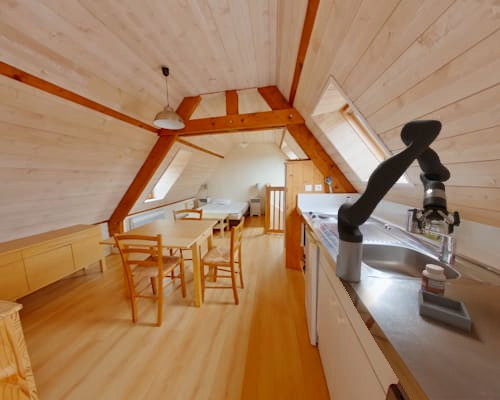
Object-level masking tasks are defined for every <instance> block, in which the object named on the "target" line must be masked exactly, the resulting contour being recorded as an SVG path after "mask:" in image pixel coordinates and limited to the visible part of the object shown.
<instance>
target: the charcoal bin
mask: <svg viewBox="0 0 500 400" xmlns="http://www.w3.org/2000/svg"><path fill="white" fill-rule="evenodd" d="M417 301H418V312H419V315H420V316H422V317H426V318H429V319H432V320H435V321H437V322H440V323H443V324H446V325H449V326H451V327H454V328H457V329H460V330H463V331H465V332H469V333H471V328H472V318H471V316H470V313H469V311H468V309H467V308H466V305H465V303H464V301H461V300H458V299H453V298H452V297H451V298H450V297H447V296H445V295H444V296H440V295H437V294H433V293H430V292H426V291H422V290H421V289H418V296H417Z"/></svg>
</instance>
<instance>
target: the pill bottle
mask: <svg viewBox="0 0 500 400" xmlns="http://www.w3.org/2000/svg"><path fill="white" fill-rule="evenodd" d="M444 270H445V269H444V267H441V266H440V265H436V264H432V263H427V264H426V265H425V269H424V270H423V271H422V274H421V275H422V276H421V284H420V285H421V286H420V290H422V291H426V292H430V293H433V294H437V295H440V296H444V297H445V292H446V282H447V276H446V275H445V274H444V272H445V271H444Z"/></svg>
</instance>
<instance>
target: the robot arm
mask: <svg viewBox="0 0 500 400" xmlns="http://www.w3.org/2000/svg"><path fill="white" fill-rule="evenodd" d="M442 127H443V124H442V122H441V121H440V120H439V119H438V120H437V119H412V120H408V121H407V122H405V124H404V125H403V126H402V128H400V129H401V130H400V132H399V133H400V134H399V135H400V140H401V141H402V143H403V144H404V145H405V146H406V148H404V149H402V150H401V151H399V152H397V153H395V154H393V155H391V156H389V157H387V158H386V159H383V160H382V161H381V162H380V163H379V164H378V165H377V166H376V168H375V169H374V170H373V171H372V172H371V174H370V175H369V178H368V181H367V184H366V188H365V190H364V192H363V193H362V194H361V196H360V197H359V198H358V199H357V200H356V201H355V202H354V203H353V202H344V203H342V204H341V205H340V206H339V208H338V210H337V220H336V221H337V232H338V245H337V246H338V250H337V255H336V261H335V262H336V263H335V277H337V278H339V279H340V280H343V281H345V282H349V283H358V282H360V281H361V277H362V258H363V244H364V236H363V233H362V232H361V230H360V228H359V227H360V226H362V225H364V224H365V223H367V221H368V220H369V218H370V217H371V215H372V214H373V213H374V211H375V210H376V208H377V207H378V205H379V203H380V202H381V201H382V199H384V198H385V196H387V194H388V192H389V191H390V190H391V189H392V188H393V187H394V185H396V184H397V182H398V181H399V180H400V179H401V177H402V176H403V175H404V173H406V172H407V170H408V169H409V168H410V166H412V164H413V163H414V162H415V161H417V164H418V166H419V167H420V170H421V172H420V174H419V180H420V182H421V183H422V185H423V197H422V209H418V208H413V211H412V217H411V221H412V223H416V229H417V230H418V231H422V228H423V227H422V226H423V223H424V222H426V221H427V220H429V221H435V222H436V221H437V222H440V221H441V223H442V224H445V225H447V234H448V235H451V234H453V233H454V231H455V227H460V224H461V218H460V213H459V211H458V210H455V211H454V212H453V211H452V212H449V211H448V204H447V195H446V185H445V182H447V181H449V180H450V178H451V172H450V170H449V169H448V168H447V167H446V166H445V165H444V164H443V163H442V162H441V159H440V156H439V154H438V153H437V152H436V151H435V150H434V149H433V148H431V147H430V146H431V145H432V144H433V143H434V141H435V140H436V139H437V138H438V137H439V135H440V133H441V131H442V129H443V128H442ZM419 214H421V216H420V217H417V216H418V215H419ZM449 216H450V217H451V218H452V219H453V220H452V219H450V217H449Z"/></svg>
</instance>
